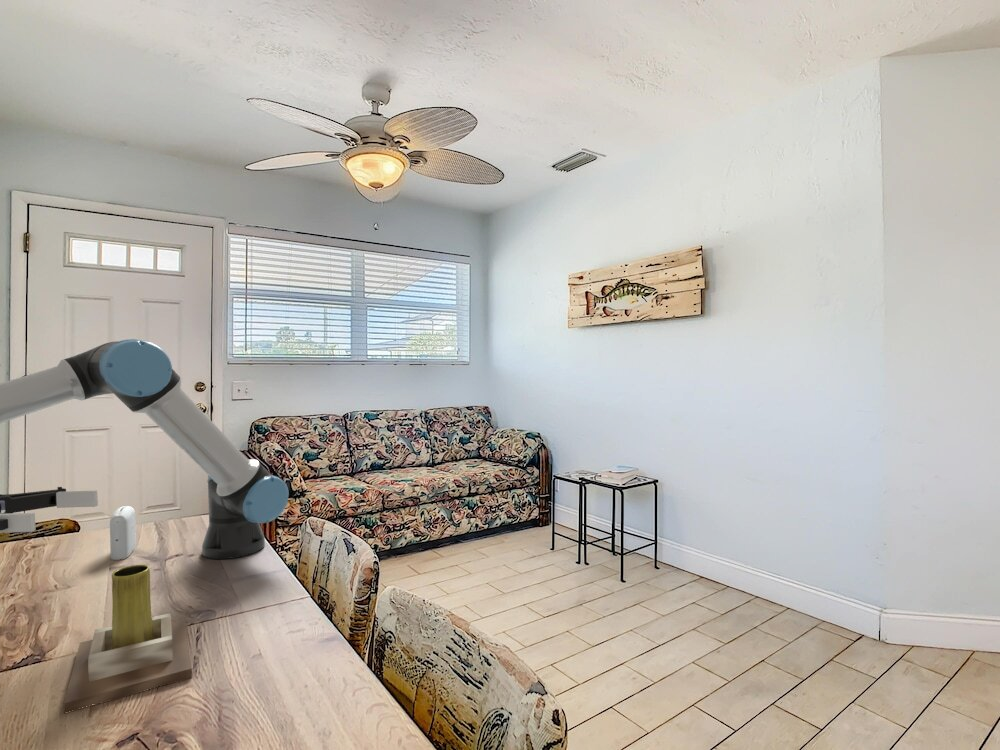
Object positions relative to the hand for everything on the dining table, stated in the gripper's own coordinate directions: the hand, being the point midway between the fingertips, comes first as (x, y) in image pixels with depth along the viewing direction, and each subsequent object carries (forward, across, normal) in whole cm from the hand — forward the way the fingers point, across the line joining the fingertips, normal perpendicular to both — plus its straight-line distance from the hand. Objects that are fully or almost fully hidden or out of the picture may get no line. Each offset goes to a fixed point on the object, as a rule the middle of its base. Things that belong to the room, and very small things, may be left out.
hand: (67, 509), depth 89 cm
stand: (+10, 0, -26) cm, 28 cm away
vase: (+10, 0, -25) cm, 27 cm away
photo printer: (-26, -54, -27) cm, 66 cm away
